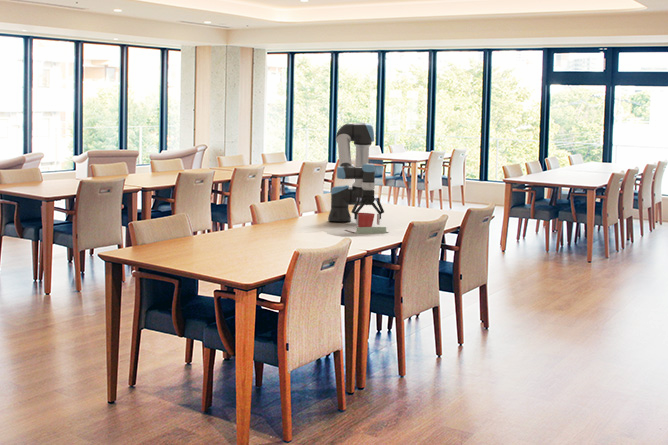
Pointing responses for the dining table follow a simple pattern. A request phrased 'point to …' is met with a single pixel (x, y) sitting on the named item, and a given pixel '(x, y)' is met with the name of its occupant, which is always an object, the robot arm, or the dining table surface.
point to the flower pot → (365, 219)
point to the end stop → (370, 229)
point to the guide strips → (354, 232)
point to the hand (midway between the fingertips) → (367, 224)
